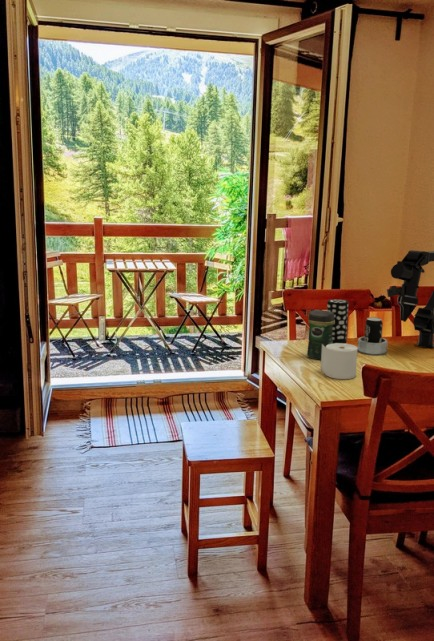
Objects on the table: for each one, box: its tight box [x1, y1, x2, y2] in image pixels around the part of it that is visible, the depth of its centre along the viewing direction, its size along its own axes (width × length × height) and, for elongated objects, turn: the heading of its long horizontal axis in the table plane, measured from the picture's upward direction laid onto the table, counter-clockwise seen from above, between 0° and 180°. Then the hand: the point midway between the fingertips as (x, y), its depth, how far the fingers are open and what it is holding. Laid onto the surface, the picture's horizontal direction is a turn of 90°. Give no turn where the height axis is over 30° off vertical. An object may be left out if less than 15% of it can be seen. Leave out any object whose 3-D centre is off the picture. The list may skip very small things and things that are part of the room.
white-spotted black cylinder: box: [326, 298, 349, 344], centre depth 219 cm, size 8×8×20 cm
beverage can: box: [364, 316, 384, 343], centre depth 217 cm, size 7×7×12 cm
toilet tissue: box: [320, 343, 358, 380], centre depth 188 cm, size 11×12×10 cm
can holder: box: [357, 336, 388, 356], centre depth 218 cm, size 12×12×5 cm
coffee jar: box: [306, 309, 335, 361], centre depth 208 cm, size 10×8×19 cm
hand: (402, 321), depth 215 cm, fingers open, 9 cm apart
